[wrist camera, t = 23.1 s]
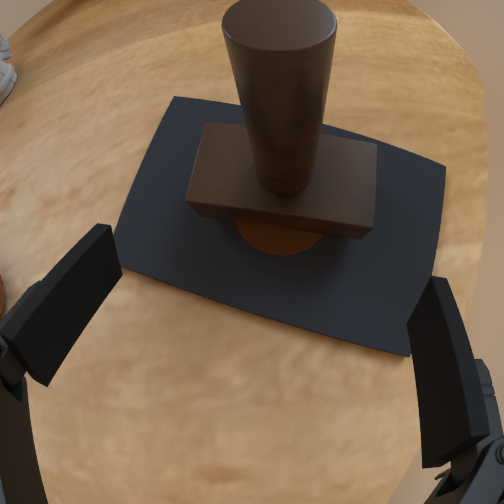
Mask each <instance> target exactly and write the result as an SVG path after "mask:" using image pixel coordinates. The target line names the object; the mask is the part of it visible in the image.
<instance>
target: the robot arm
mask: <svg viewBox="0 0 504 504" xmlns="http://www.w3.org/2000/svg"><path fill="white" fill-rule="evenodd" d="M122 275H123V274H122V270H121V266H120V263H119V259H118V254H117V250H116V246H115V242H114V237H113V233H112V228H111V225H106V224H99V223H97V224H96V225H95V226H94V227H93V228H92V229H91V230H90V231H89V232H88V233H87V234H86V235H85V236H84V237H83V238H82V239H81V240H80V241H79V242H78V243H77V244H76V245H75V246H74V247H73V248H72V249H71V250H70V251H69V252H68V253H67V254H66V255H65V256H64V257H63V258H62V259H61V260H60V261H59V262H58V263H57V264H56V265H55V266H54V267H53V269H52V270H51V271H50V272H49V273H48V274H47V275H46V276H45V277H44V278H43V280H42V281H40V280H39V281H38V282H36V283H35V284H33V285H32V286H31V287H29V288H28V289H27V290H26V292H25V293H24V294H23V295H22V296H21V298H20V299H19V300H18V301H17V302H16V303H15V306H13V307H12V308H11V309H10V311H9V312H8V313H7V314H6V315H5V317H4V318H3V319H2V320H1V322H0V504H48V501H47V498H46V494H45V490H44V487H43V483H42V479H41V475H40V470H39V466H38V461H37V456H36V451H35V446H34V440H33V434H32V427H31V420H30V412H29V403H28V392H27V381H26V377H25V376H24V374H25V373H26V371H27V372H28V373H29V374H30V376H31V377H32V378H33V379H34V380H35V381H37V382H39V383H40V384H42V385H44V386H46V387H48V385H49V383H50V382H51V380H52V378H53V377H54V375H55V373H56V372H57V370H58V369H59V367H60V365H61V364H62V362H63V361H64V359H65V358H66V356H67V354H68V353H69V351H70V350H71V348H72V347H73V345H74V344H75V342H76V341H77V339H78V338H79V336H80V335H81V333H82V332H83V330H84V329H85V327H86V326H87V324H88V323H89V321H90V320H91V318H92V317H93V316H94V314H95V313H96V311H97V310H98V308H99V307H100V306H101V304H102V303H103V301H104V300H105V299H106V297H107V296H108V294H109V293H110V292H111V290H112V289H113V287H114V286H115V285H116V283H117V282H118V281H119V279H120V278H121V277H122ZM406 325H407V330H408V335H409V341H410V347H411V353H412V359H413V366H414V373H415V380H416V388H417V397H418V407H419V418H420V431H421V448H422V468H433V467H441V466H443V465H444V464H446V463H448V462H450V461H451V468H449V469H447V470H446V471H444V472H442V473H440V474H438V475H437V476H436V477H435V478H434V479H435V480H437V479H439V478H441V477H443V478H442V479H441V480H440V482H439V483H438V485H437V486H436V488H435V489H434V490H433V492H432V493H431V495H430V496H429V497H428V499H427V500H426V501H425V503H424V504H504V435H503V430H502V425H501V420H500V415H499V410H498V405H497V401H496V397H495V396H494V394H495V392H494V388H493V386H492V380H491V377H490V373H489V370H488V369H487V367H486V365H485V364H484V362H483V360H482V359H474V356H473V353H472V349H471V346H470V343H469V339H468V336H467V333H466V330H465V327H464V324H463V321H462V318H461V315H460V312H459V310H458V307H457V304H456V301H455V299H454V296H453V293H452V291H451V288H450V286H449V283H448V281H447V278H442V277H436V276H430V279H429V281H428V283H427V285H426V287H425V289H424V291H423V293H422V295H421V297H420V299H419V301H418V303H417V305H416V307H415V308H414V310H413V312H412V314H411V316H410V318H409V320H408V321H407V323H406Z"/></svg>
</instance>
